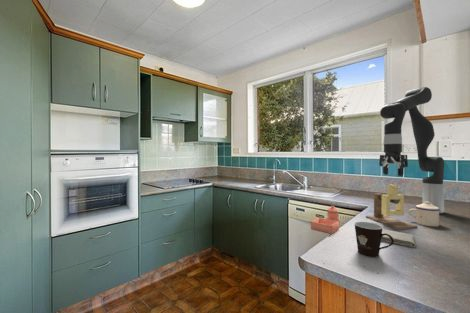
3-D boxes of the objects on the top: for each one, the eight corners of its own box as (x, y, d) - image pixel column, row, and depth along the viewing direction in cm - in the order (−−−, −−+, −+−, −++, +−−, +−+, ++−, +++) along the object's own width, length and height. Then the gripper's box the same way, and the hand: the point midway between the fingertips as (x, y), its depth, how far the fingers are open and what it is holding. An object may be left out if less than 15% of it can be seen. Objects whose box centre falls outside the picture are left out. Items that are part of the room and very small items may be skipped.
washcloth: (365, 231, 103) (365, 224, 103) (414, 240, 92) (414, 232, 92) (361, 238, 94) (361, 231, 94) (415, 249, 83) (415, 241, 83)
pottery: (331, 235, 97) (331, 213, 97) (310, 230, 103) (310, 209, 103) (345, 226, 110) (345, 206, 110) (326, 222, 116) (326, 203, 116)
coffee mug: (349, 248, 82) (349, 222, 82) (371, 247, 83) (371, 221, 83) (371, 263, 71) (371, 232, 71) (396, 262, 72) (396, 232, 72)
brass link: (398, 213, 114) (398, 184, 113) (403, 214, 111) (403, 185, 111) (381, 214, 112) (381, 184, 112) (386, 215, 109) (386, 185, 109)
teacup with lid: (438, 224, 111) (438, 201, 111) (441, 229, 104) (440, 204, 104) (408, 220, 119) (408, 198, 119) (408, 224, 111) (408, 201, 111)
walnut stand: (365, 218, 122) (365, 193, 122) (383, 217, 124) (382, 192, 124) (397, 230, 103) (397, 200, 103) (417, 229, 104) (417, 199, 104)
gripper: (412, 142, 105) (412, 176, 105) (387, 144, 119) (387, 174, 119) (398, 142, 104) (398, 176, 104) (375, 144, 118) (375, 174, 118)
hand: (392, 175), depth 111 cm, fingers open, 8 cm apart
